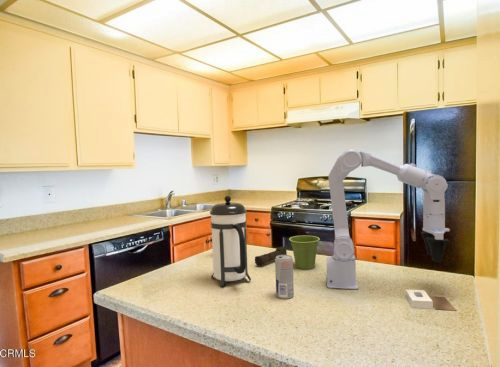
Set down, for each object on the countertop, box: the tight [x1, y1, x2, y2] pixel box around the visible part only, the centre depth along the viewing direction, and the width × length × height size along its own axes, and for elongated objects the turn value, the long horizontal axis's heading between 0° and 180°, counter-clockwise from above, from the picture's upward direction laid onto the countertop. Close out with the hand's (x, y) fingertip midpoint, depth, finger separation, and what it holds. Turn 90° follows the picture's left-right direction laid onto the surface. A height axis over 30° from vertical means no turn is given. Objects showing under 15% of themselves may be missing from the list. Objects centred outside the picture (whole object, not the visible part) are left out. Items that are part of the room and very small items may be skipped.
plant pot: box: [288, 234, 321, 270], centre depth 127 cm, size 12×12×11 cm
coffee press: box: [209, 195, 252, 288], centre depth 113 cm, size 17×16×30 cm
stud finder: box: [405, 288, 434, 310], centre depth 91 cm, size 5×8×3 cm, turn 167°
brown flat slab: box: [428, 295, 457, 312], centre depth 90 cm, size 5×9×1 cm, turn 166°
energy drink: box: [274, 254, 295, 300], centre depth 99 cm, size 5×5×12 cm
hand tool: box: [254, 246, 288, 267], centre depth 136 cm, size 19×4×5 cm, turn 135°
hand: (434, 258), depth 99 cm, fingers open, 7 cm apart
